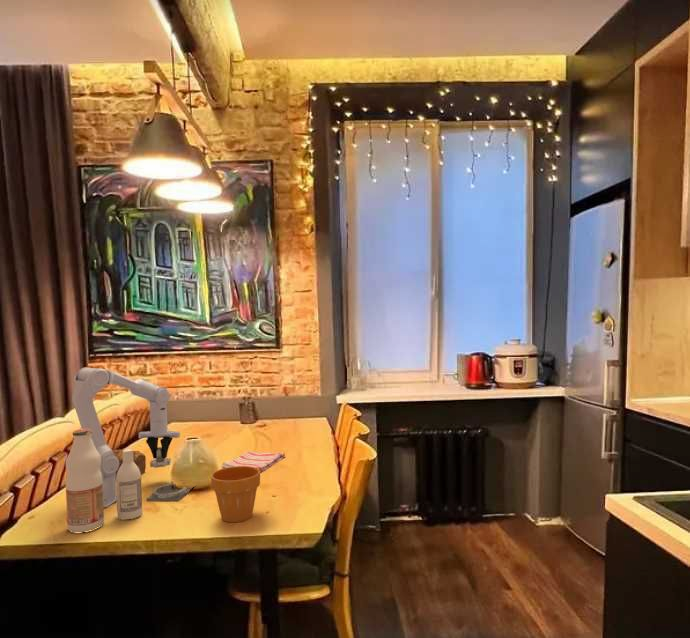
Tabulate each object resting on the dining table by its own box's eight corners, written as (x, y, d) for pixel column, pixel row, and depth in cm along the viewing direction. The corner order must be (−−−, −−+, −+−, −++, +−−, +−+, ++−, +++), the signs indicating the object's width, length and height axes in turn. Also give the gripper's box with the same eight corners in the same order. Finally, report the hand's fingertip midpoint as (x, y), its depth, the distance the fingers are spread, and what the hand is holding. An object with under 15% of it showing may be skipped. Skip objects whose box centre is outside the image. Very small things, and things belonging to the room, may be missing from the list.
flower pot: (240, 504, 163) (239, 463, 163) (271, 514, 154) (269, 470, 154) (202, 519, 152) (201, 475, 152) (233, 530, 143) (231, 484, 143)
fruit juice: (74, 537, 142) (70, 435, 141) (62, 528, 148) (58, 431, 148) (109, 526, 149) (105, 429, 148) (96, 518, 155) (92, 425, 155)
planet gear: (165, 467, 182) (164, 450, 182) (146, 467, 183) (145, 450, 183) (173, 461, 189) (173, 445, 189) (155, 461, 190) (154, 445, 190)
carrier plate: (179, 501, 167) (178, 489, 167) (146, 501, 168) (145, 489, 168) (196, 485, 182) (196, 474, 182) (166, 485, 183) (165, 474, 183)
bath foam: (146, 515, 156) (144, 449, 156) (123, 523, 151) (121, 454, 150) (136, 510, 161) (133, 446, 160) (113, 517, 155) (111, 450, 155)
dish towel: (220, 472, 199) (219, 463, 199) (250, 455, 221) (249, 447, 221) (259, 475, 193) (259, 465, 193) (286, 457, 215) (286, 449, 215)
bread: (85, 481, 191) (84, 454, 191) (101, 472, 202) (100, 446, 202) (134, 481, 190) (133, 454, 190) (147, 472, 201) (146, 446, 200)
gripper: (182, 417, 189) (184, 454, 189) (144, 418, 190) (145, 454, 190) (174, 421, 182) (176, 460, 182) (135, 422, 183) (136, 460, 183)
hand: (160, 457), depth 186 cm, fingers closed on planet gear, 3 cm apart
